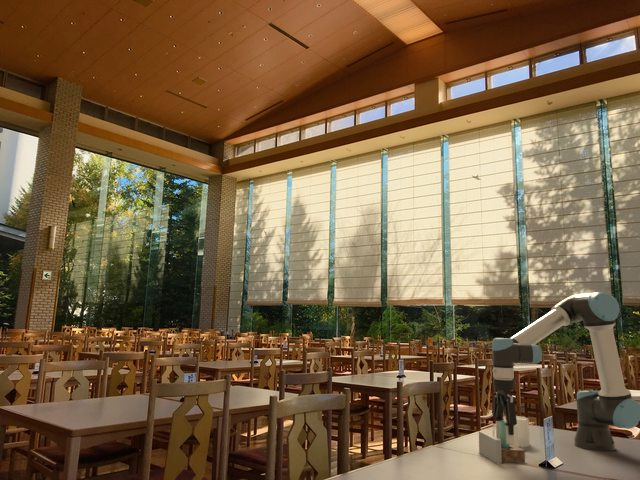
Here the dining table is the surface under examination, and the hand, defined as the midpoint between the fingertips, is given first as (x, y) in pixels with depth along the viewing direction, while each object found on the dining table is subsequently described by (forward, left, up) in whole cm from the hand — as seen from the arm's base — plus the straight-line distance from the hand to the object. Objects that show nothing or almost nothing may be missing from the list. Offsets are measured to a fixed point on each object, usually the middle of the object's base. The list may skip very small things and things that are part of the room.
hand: (505, 441), depth 192 cm
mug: (-16, -26, -6) cm, 31 cm away
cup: (-6, -16, -6) cm, 18 cm away
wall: (+6, 0, -6) cm, 9 cm away
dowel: (0, 0, -6) cm, 6 cm away
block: (0, 0, -6) cm, 6 cm away
